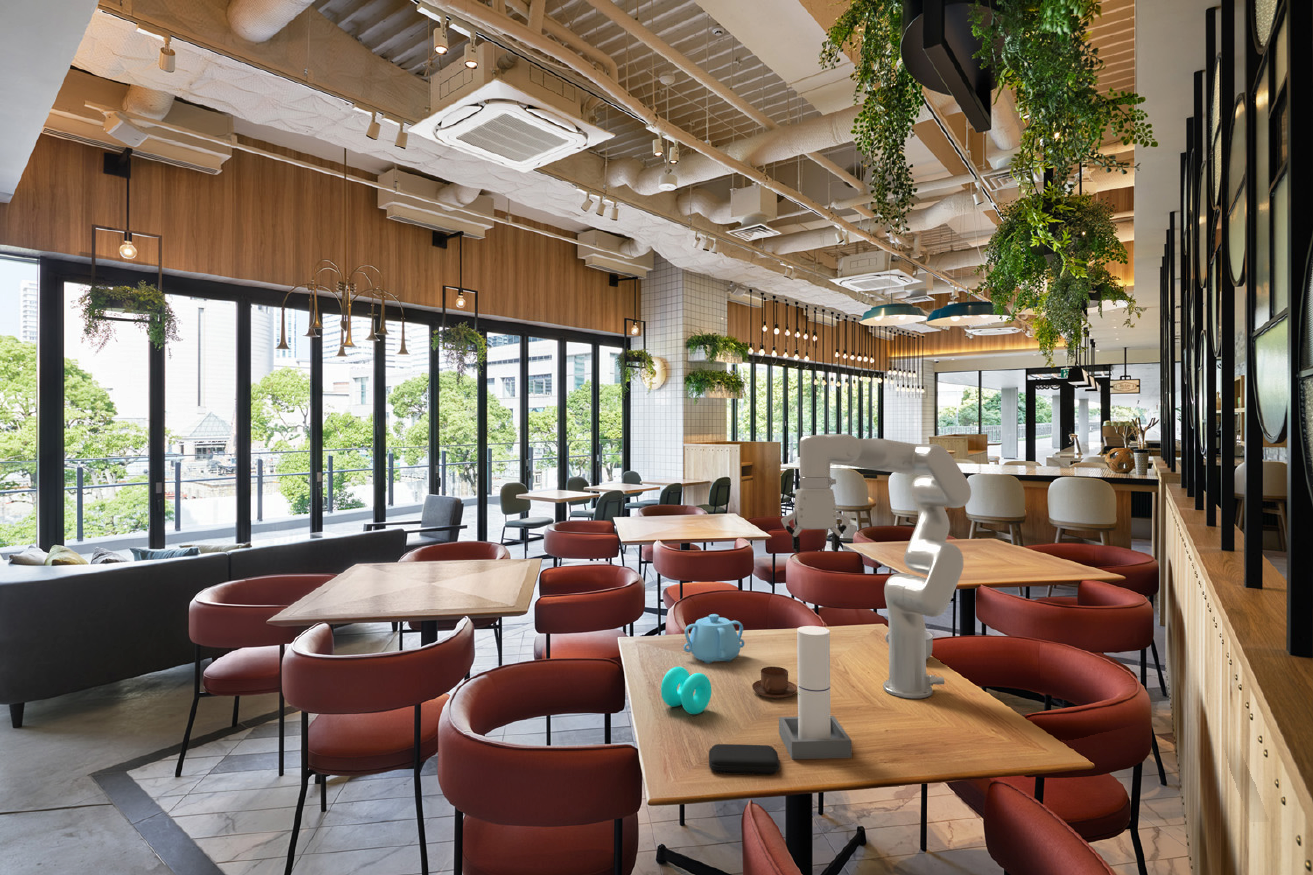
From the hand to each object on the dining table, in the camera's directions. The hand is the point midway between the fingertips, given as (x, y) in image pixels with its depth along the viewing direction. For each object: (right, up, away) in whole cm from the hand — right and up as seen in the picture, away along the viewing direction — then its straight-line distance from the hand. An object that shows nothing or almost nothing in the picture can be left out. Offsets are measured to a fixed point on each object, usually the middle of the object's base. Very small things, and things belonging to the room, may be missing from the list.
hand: (815, 551), depth 174 cm
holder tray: (-5, -40, -19) cm, 45 cm away
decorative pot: (-22, -41, +42) cm, 63 cm away
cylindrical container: (-5, -40, -19) cm, 44 cm away
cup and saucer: (-8, -41, +12) cm, 43 cm away
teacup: (+38, -40, +40) cm, 69 cm away
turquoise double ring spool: (-33, -41, +2) cm, 52 cm away
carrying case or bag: (-22, -41, -27) cm, 54 cm away
